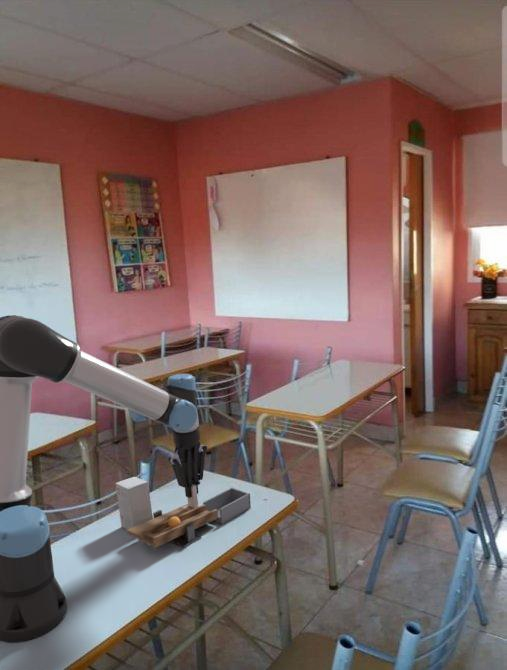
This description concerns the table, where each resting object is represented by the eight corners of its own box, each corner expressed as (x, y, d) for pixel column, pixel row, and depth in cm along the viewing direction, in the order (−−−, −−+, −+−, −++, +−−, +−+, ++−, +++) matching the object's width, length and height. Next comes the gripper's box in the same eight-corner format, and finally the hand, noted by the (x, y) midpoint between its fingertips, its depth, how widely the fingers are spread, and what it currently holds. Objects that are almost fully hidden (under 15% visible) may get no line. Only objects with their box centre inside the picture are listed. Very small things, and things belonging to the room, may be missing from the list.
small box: (154, 526, 155) (148, 481, 154) (134, 534, 151) (127, 488, 150) (140, 518, 161) (134, 475, 160) (120, 526, 157) (114, 482, 156)
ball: (184, 519, 147) (180, 531, 146) (176, 516, 149) (172, 528, 148) (176, 517, 145) (171, 529, 144) (168, 513, 147) (164, 525, 146)
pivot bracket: (184, 547, 144) (183, 531, 143) (148, 530, 154) (147, 515, 153) (201, 537, 148) (200, 522, 148) (165, 521, 158) (164, 507, 158)
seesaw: (155, 547, 139) (154, 538, 138) (126, 533, 147) (126, 524, 146) (218, 518, 155) (217, 509, 155) (189, 506, 163) (189, 498, 163)
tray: (222, 524, 155) (221, 509, 154) (204, 516, 160) (203, 502, 159) (250, 507, 164) (249, 493, 163) (232, 501, 169) (231, 487, 168)
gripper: (176, 437, 149) (184, 518, 153) (211, 424, 158) (218, 500, 162) (159, 432, 154) (167, 511, 158) (194, 419, 163) (200, 494, 167)
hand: (193, 505), depth 160 cm, fingers closed
